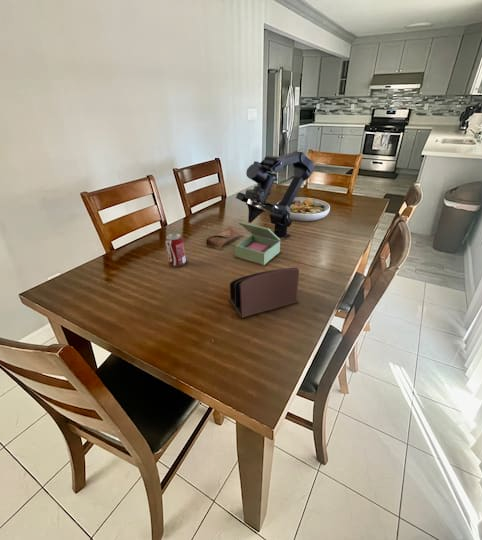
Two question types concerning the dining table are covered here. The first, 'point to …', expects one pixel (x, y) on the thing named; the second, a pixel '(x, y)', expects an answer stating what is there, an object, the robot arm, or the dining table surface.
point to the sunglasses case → (222, 238)
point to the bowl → (308, 209)
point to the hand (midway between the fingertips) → (249, 222)
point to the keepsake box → (257, 255)
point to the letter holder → (264, 291)
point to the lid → (259, 230)
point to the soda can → (175, 250)
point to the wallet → (258, 247)
